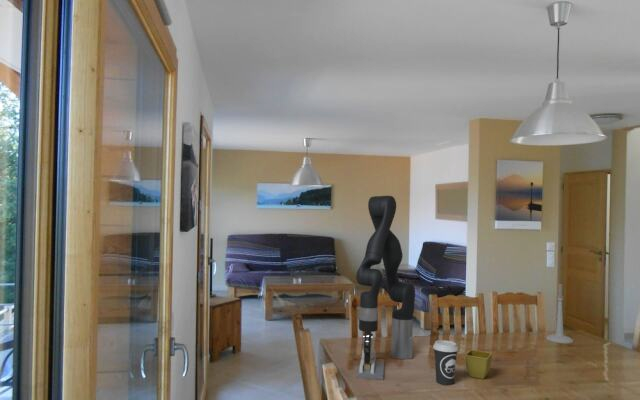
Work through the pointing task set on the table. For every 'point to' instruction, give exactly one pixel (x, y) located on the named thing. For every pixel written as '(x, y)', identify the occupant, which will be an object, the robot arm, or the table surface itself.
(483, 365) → the flower pot
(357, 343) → the table surface
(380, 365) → the door and jamb plate
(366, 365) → the brass bolt
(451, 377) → the coffee cup
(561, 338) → the candlestick
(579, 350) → the table surface
